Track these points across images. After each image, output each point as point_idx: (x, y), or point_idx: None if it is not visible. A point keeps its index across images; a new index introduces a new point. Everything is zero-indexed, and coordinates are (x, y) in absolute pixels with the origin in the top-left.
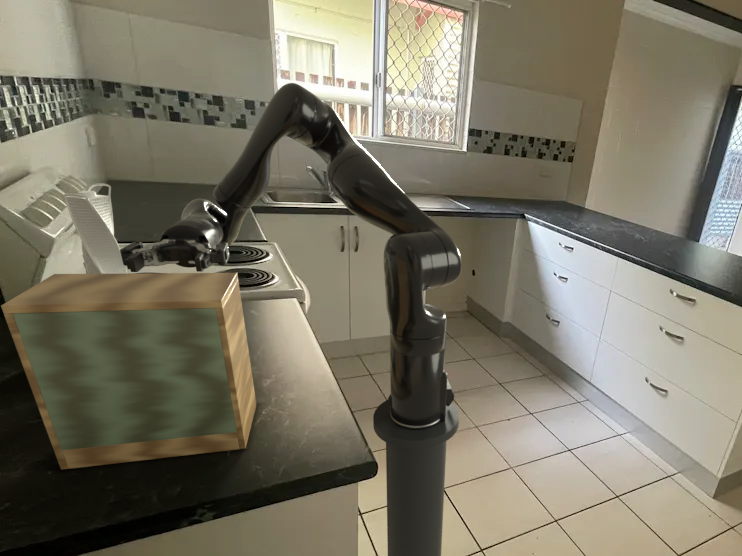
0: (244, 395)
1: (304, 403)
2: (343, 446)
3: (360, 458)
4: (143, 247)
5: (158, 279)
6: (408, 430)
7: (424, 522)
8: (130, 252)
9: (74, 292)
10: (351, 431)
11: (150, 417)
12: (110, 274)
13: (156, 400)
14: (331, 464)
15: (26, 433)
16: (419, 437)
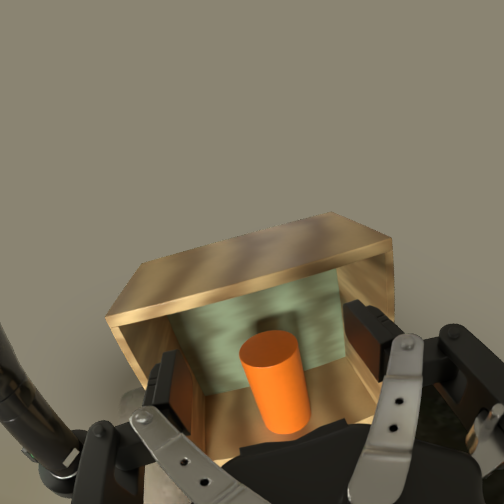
0: None
1: (153, 472)
2: (130, 407)
3: (123, 395)
4: (501, 438)
5: (222, 271)
6: (83, 442)
7: None
8: (442, 352)
9: (299, 231)
10: (120, 423)
11: None
12: (311, 258)
13: None
14: (143, 391)
15: (427, 386)
16: (80, 432)
